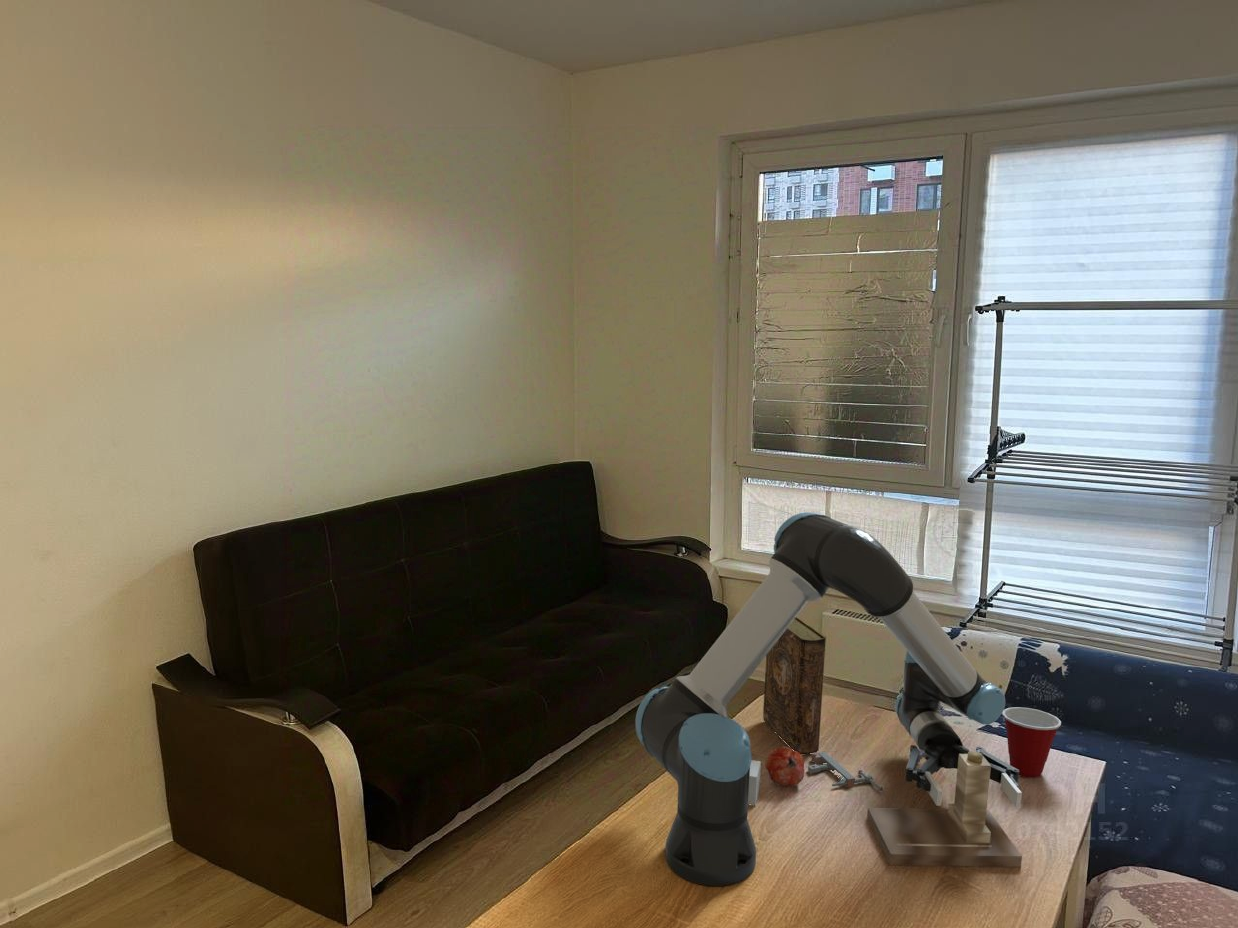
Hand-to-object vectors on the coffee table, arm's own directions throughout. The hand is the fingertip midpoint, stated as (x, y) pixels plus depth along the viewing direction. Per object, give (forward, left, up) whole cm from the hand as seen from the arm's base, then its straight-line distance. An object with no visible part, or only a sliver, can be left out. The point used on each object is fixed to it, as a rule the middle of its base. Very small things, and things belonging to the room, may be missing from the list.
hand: (979, 799), depth 156 cm
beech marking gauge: (0, +3, -7) cm, 8 cm away
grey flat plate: (-5, +2, -9) cm, 11 cm away
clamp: (-18, +24, -10) cm, 31 cm away
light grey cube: (-38, +16, -10) cm, 42 cm away
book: (-24, +40, -10) cm, 48 cm away
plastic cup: (+21, +27, -10) cm, 36 cm away
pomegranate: (-29, +21, -10) cm, 37 cm away
